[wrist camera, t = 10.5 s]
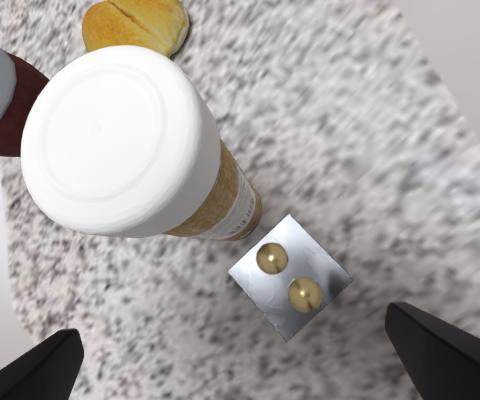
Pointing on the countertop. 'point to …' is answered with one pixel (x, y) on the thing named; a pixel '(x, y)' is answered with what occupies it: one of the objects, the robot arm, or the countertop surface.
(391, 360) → the countertop surface
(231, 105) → the countertop surface
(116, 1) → the bread roll
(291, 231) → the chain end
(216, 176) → the sprinkles bottle
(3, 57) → the mate gourd
